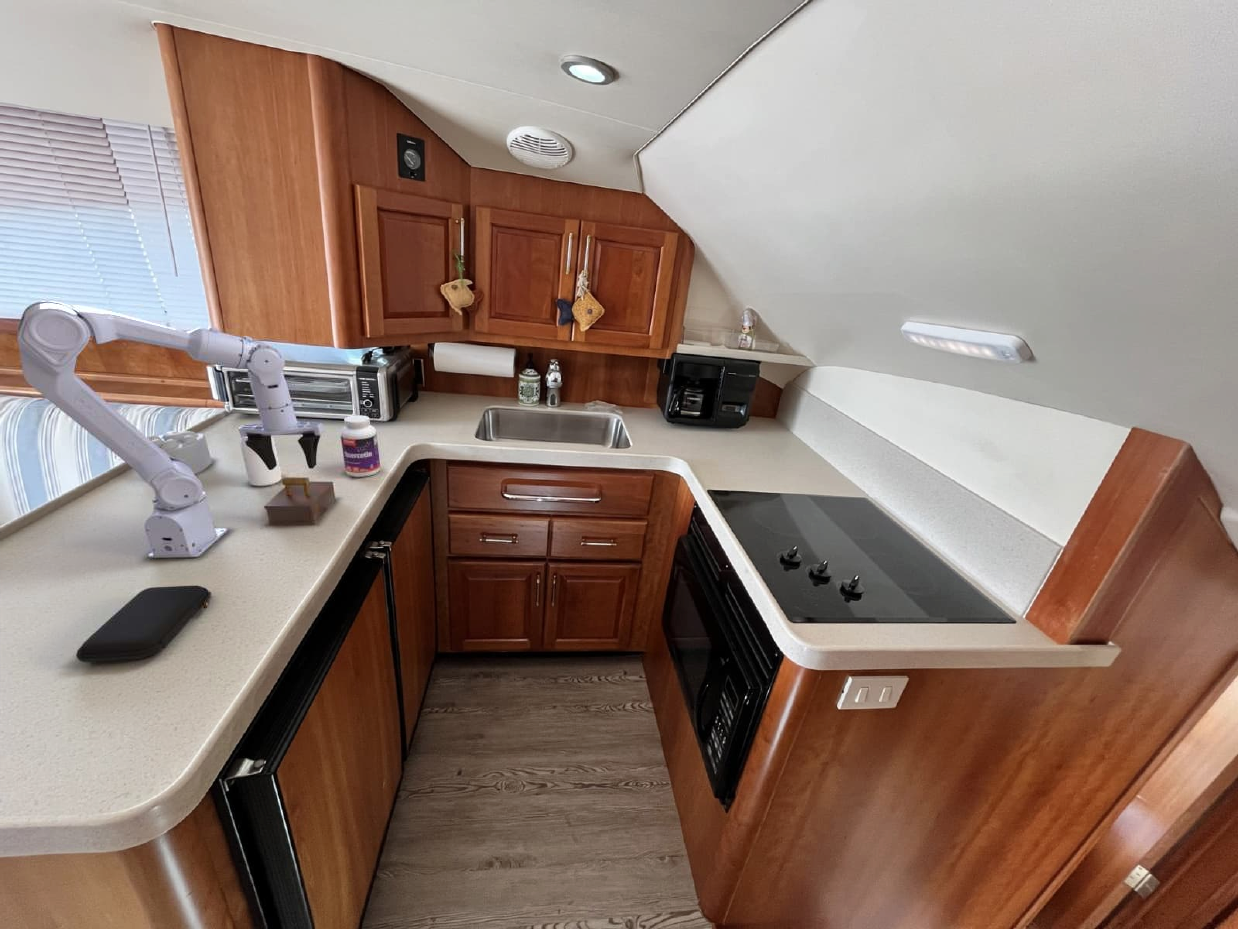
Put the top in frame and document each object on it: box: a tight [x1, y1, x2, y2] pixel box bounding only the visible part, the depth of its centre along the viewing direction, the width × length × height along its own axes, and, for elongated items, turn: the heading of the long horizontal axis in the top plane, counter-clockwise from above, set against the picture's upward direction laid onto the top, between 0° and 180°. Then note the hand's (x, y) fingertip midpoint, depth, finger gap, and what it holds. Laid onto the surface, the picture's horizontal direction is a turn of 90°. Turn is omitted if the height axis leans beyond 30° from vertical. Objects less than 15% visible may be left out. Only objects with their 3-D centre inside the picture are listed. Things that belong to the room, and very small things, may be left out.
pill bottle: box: [339, 414, 381, 478], centre depth 123 cm, size 8×8×14 cm
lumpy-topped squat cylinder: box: [146, 430, 213, 475], centre depth 117 cm, size 10×13×9 cm
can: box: [239, 434, 283, 487], centre depth 115 cm, size 6×6×12 cm
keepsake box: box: [265, 484, 337, 525], centre depth 105 cm, size 11×9×4 cm
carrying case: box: [76, 585, 212, 664], centre depth 72 cm, size 11×3×15 cm
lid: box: [263, 476, 334, 510], centre depth 103 cm, size 12×9×5 cm
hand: (293, 467), depth 101 cm, fingers open, 7 cm apart
